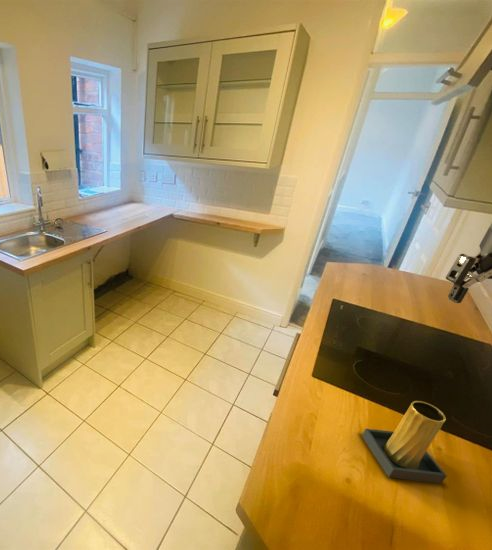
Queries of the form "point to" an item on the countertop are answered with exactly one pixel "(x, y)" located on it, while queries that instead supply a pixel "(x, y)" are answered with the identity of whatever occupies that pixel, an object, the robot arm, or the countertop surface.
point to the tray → (424, 472)
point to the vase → (414, 434)
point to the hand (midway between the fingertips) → (475, 302)
